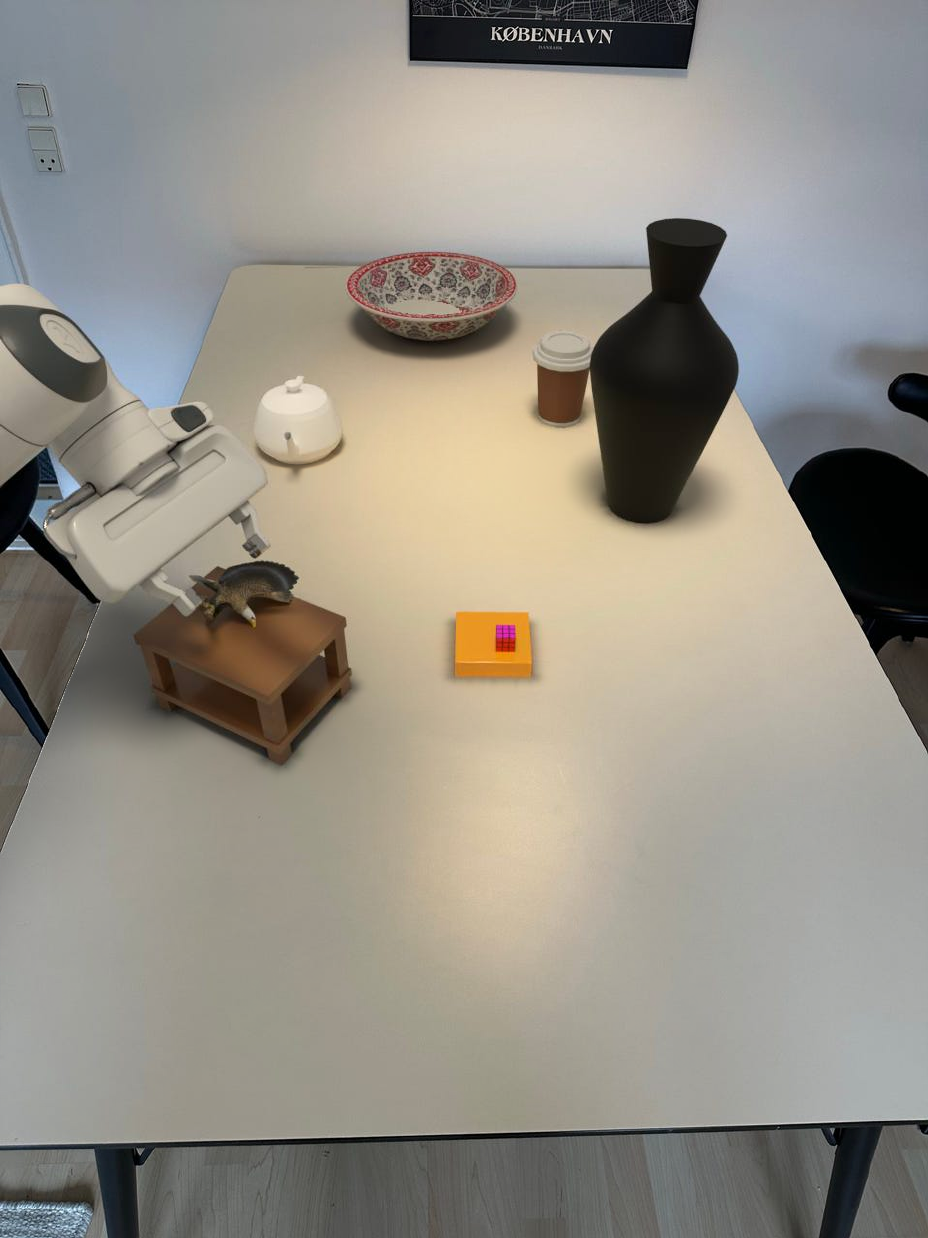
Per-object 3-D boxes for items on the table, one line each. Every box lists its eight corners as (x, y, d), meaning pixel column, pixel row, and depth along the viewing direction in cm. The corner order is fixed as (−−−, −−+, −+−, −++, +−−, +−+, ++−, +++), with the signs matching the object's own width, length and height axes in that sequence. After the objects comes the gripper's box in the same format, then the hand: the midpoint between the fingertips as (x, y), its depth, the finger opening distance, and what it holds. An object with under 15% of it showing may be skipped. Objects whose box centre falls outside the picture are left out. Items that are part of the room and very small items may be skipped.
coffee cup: (516, 411, 137) (520, 336, 129) (564, 395, 141) (570, 321, 132) (553, 437, 131) (559, 360, 123) (601, 420, 135) (611, 344, 127)
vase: (733, 511, 118) (803, 236, 94) (644, 562, 110) (697, 275, 86) (635, 456, 128) (676, 194, 104) (547, 499, 119) (571, 226, 96)
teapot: (340, 488, 121) (333, 420, 114) (247, 489, 121) (235, 422, 114) (347, 413, 136) (341, 350, 129) (264, 414, 135) (254, 351, 129)
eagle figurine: (230, 651, 82) (313, 599, 85) (187, 584, 79) (273, 532, 82) (214, 642, 88) (291, 593, 91) (174, 580, 86) (254, 532, 89)
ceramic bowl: (386, 285, 172) (384, 243, 167) (534, 306, 165) (537, 262, 160) (321, 350, 151) (316, 304, 146) (486, 377, 145) (488, 329, 139)
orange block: (454, 677, 95) (455, 648, 92) (456, 626, 101) (456, 597, 98) (530, 678, 95) (533, 649, 92) (527, 626, 101) (529, 598, 98)
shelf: (282, 768, 86) (268, 696, 79) (156, 706, 92) (132, 634, 85) (353, 688, 94) (346, 617, 87) (233, 636, 99) (217, 565, 93)
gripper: (41, 504, 70) (163, 638, 73) (216, 394, 83) (313, 511, 86) (19, 533, 75) (135, 658, 78) (189, 424, 88) (282, 535, 91)
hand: (230, 580), depth 82 cm, fingers open, 8 cm apart
